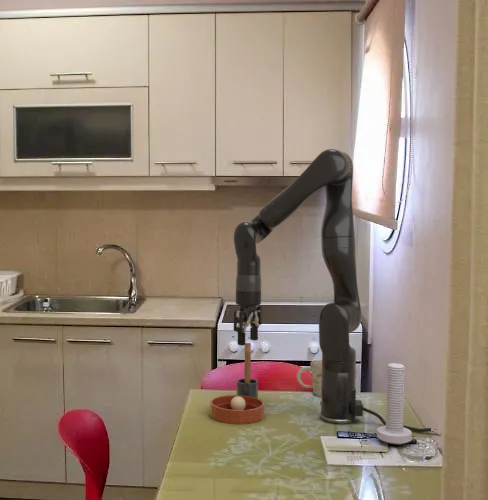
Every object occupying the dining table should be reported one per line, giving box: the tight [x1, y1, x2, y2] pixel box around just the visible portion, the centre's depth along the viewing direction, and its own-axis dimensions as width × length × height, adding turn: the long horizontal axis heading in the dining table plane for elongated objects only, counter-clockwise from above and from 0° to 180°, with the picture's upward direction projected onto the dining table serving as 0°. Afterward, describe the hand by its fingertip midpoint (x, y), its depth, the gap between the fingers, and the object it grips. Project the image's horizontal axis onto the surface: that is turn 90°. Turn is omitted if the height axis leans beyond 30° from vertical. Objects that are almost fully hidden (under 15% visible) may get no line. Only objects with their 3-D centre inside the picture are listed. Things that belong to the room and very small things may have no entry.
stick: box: [243, 342, 252, 384], centre depth 207 cm, size 2×2×18 cm
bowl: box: [209, 394, 265, 425], centre depth 195 cm, size 15×15×4 cm
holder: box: [236, 378, 259, 399], centre depth 208 cm, size 6×6×7 cm
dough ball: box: [231, 396, 246, 410], centre depth 199 cm, size 4×4×4 cm
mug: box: [296, 359, 322, 397], centre depth 219 cm, size 8×13×10 cm, turn 78°
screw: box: [376, 362, 413, 446], centre depth 175 cm, size 8×8×20 cm
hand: (247, 342), depth 207 cm, fingers open, 8 cm apart
